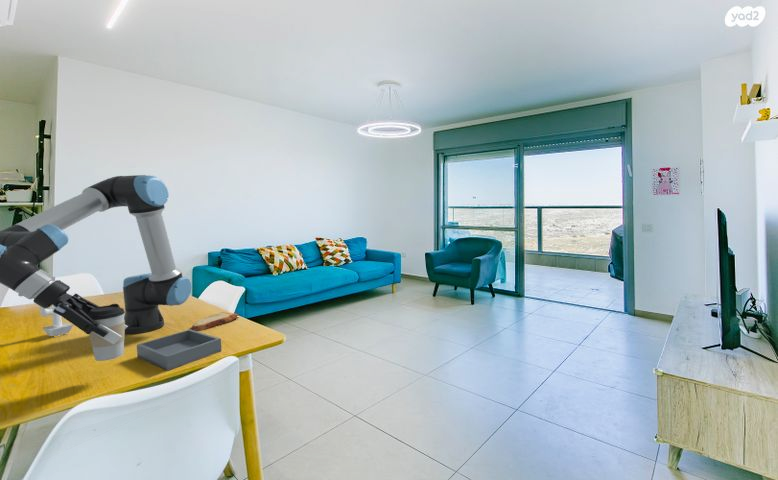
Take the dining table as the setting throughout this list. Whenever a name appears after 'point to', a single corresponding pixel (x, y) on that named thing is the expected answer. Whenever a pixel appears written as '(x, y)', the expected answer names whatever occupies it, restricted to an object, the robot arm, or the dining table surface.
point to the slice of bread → (214, 321)
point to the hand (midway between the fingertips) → (121, 334)
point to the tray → (178, 349)
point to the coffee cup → (113, 320)
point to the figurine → (55, 323)
